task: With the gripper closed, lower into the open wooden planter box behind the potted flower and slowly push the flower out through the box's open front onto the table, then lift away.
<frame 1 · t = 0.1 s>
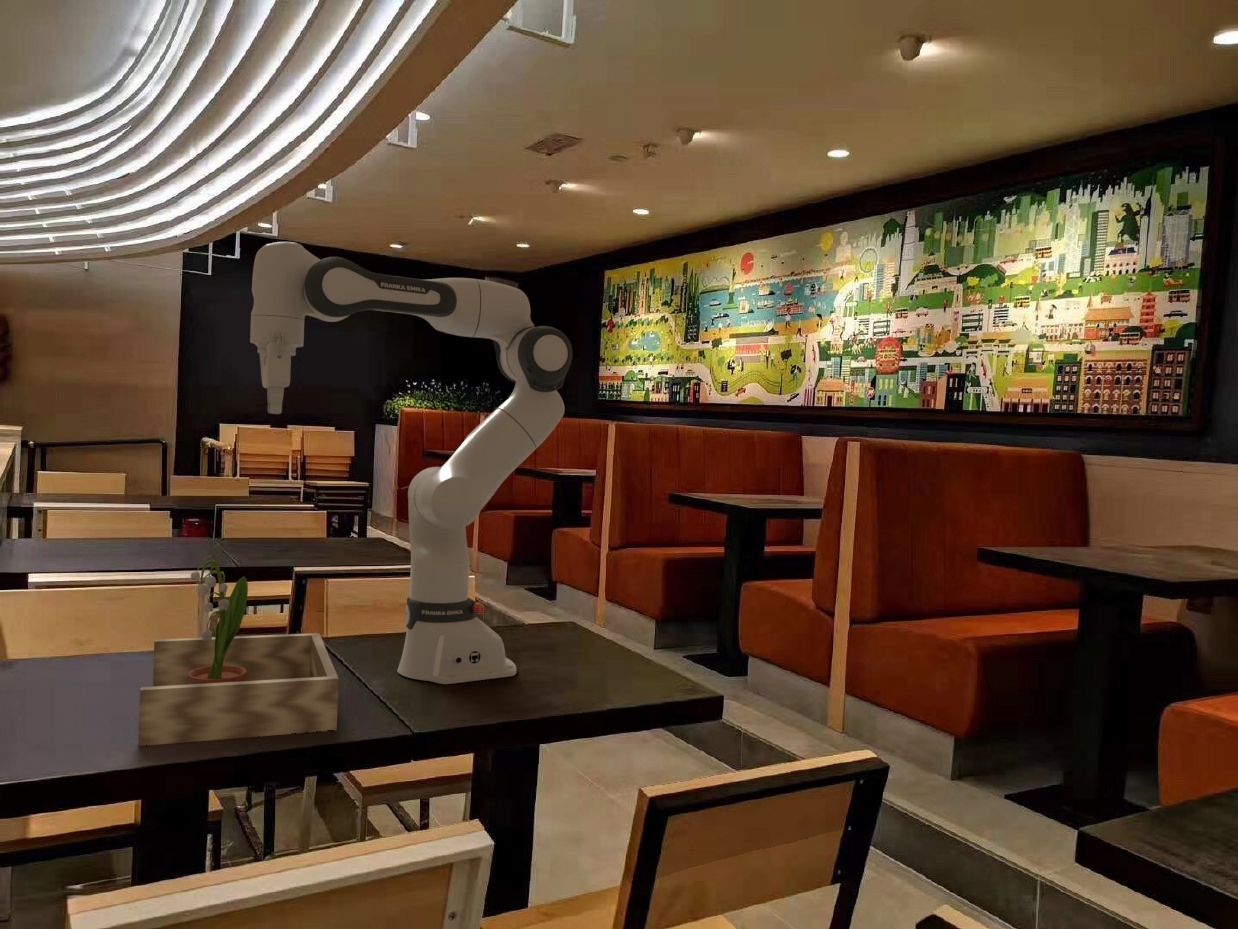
hand: (274, 413, 162), 48 cm above the table, tool pointing down, fingers open, 8 cm apart
potted flower: (212, 709, 148), on the table
open wooden planter box: (239, 706, 149), on the table
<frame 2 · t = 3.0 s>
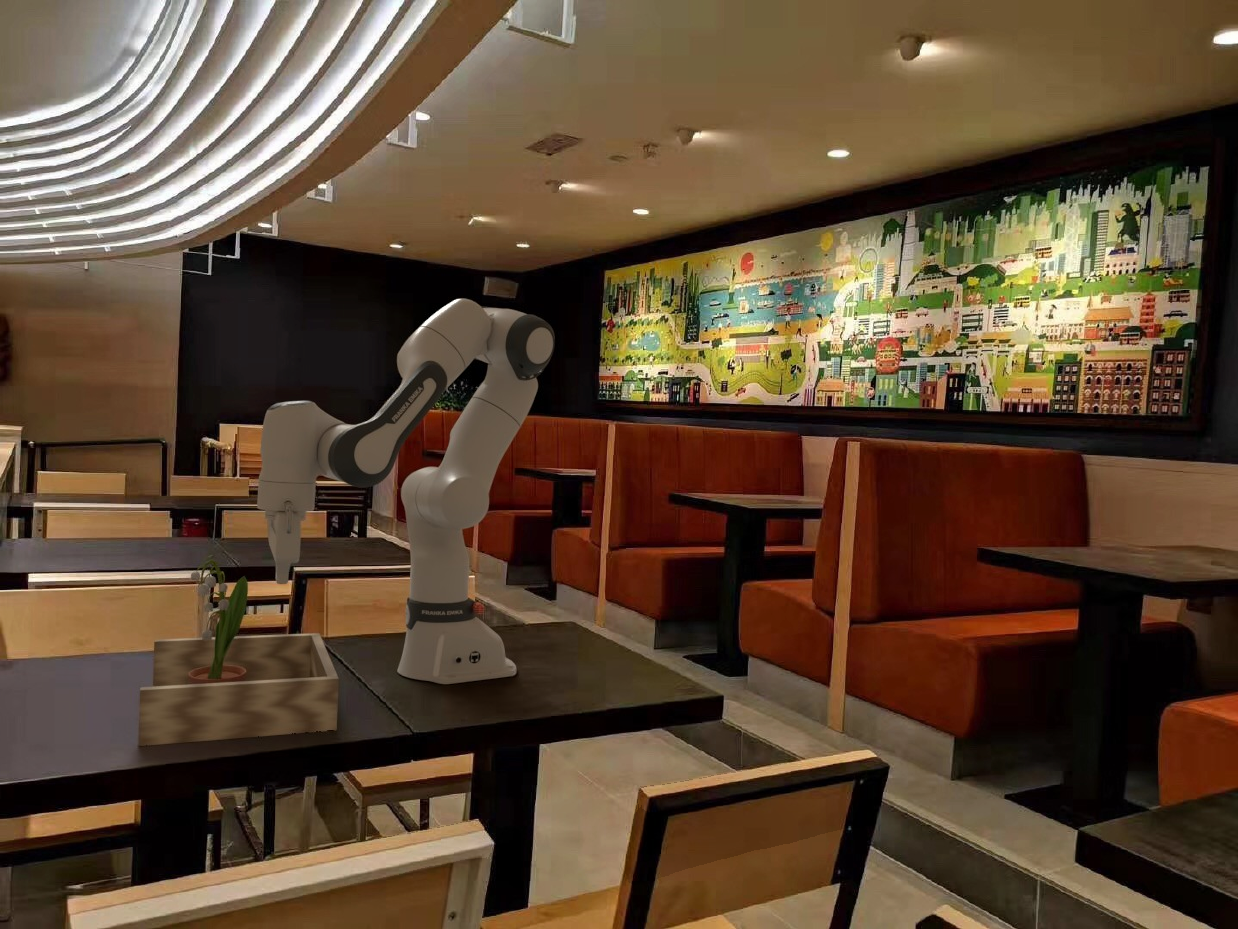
hand: (281, 582, 151), 20 cm above the table, tool pointing down, fingers closed
nothing on the table moved.
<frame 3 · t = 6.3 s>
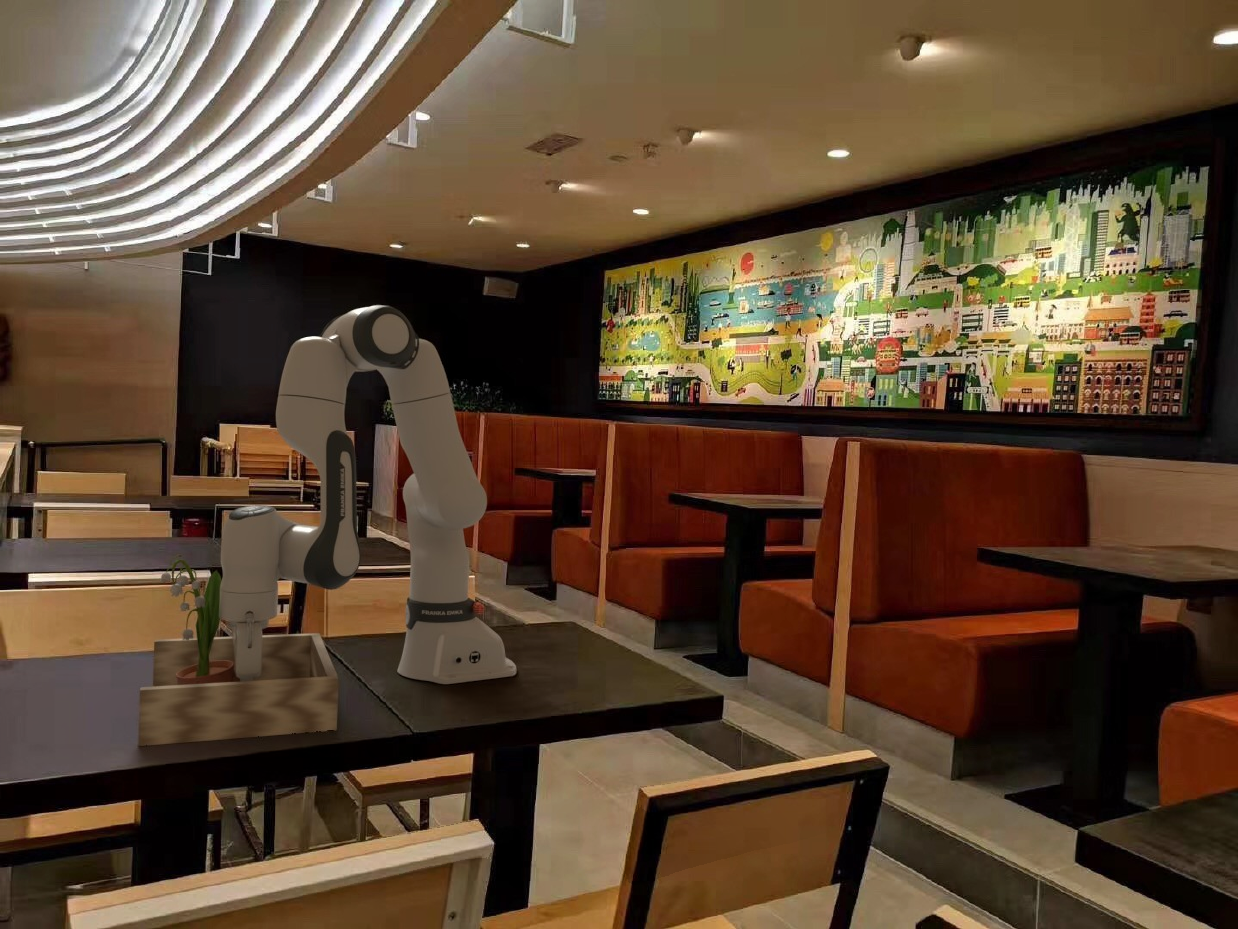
hand: (245, 690, 149), 3 cm above the table, tool pointing down, fingers closed
potted flower: (206, 706, 147), on the table, touching arm, gripper
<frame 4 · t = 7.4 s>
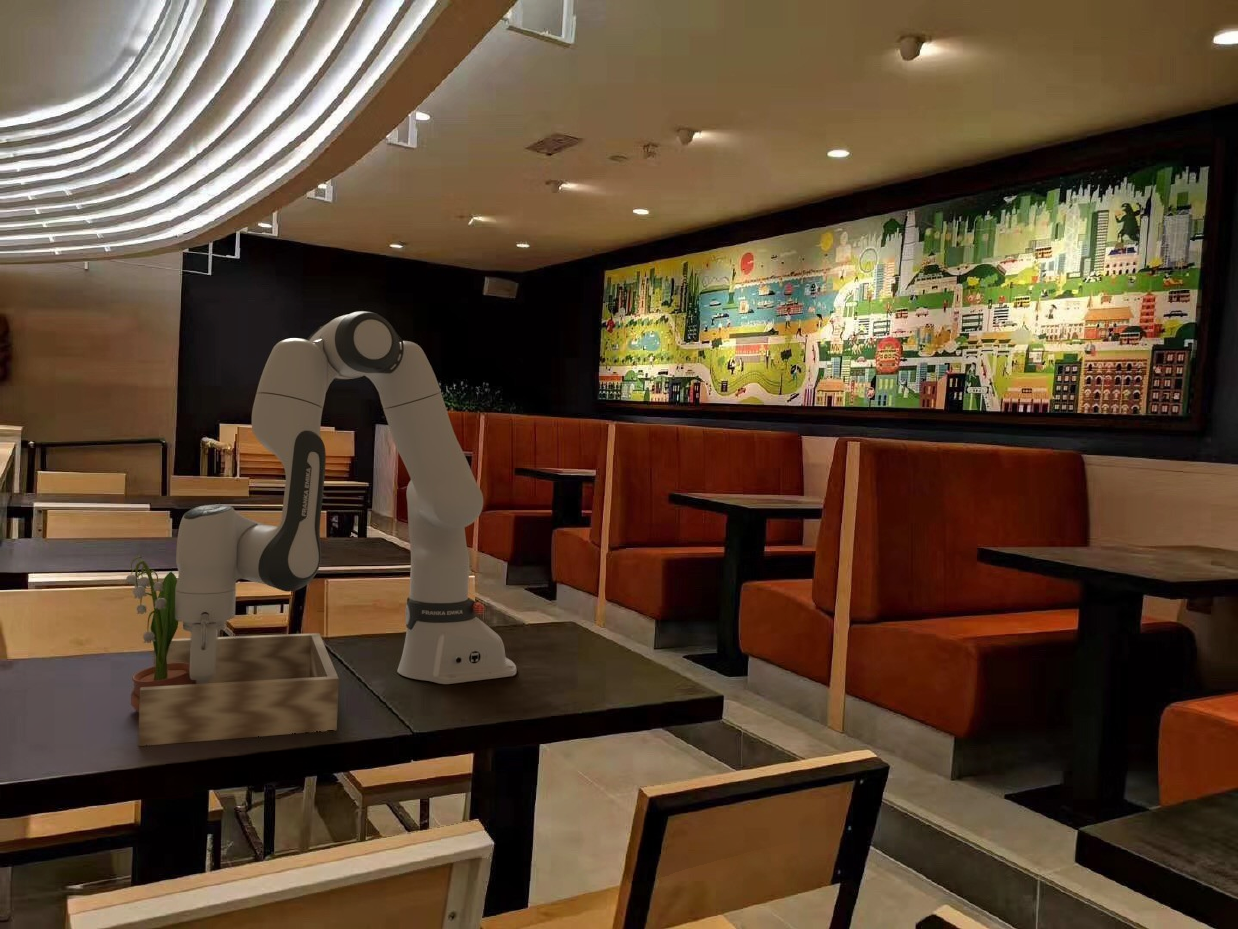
hand: (202, 692, 147), 3 cm above the table, tool pointing down, fingers closed, pressing on potted flower
potted flower: (165, 709, 145), on the table, touching arm, gripper
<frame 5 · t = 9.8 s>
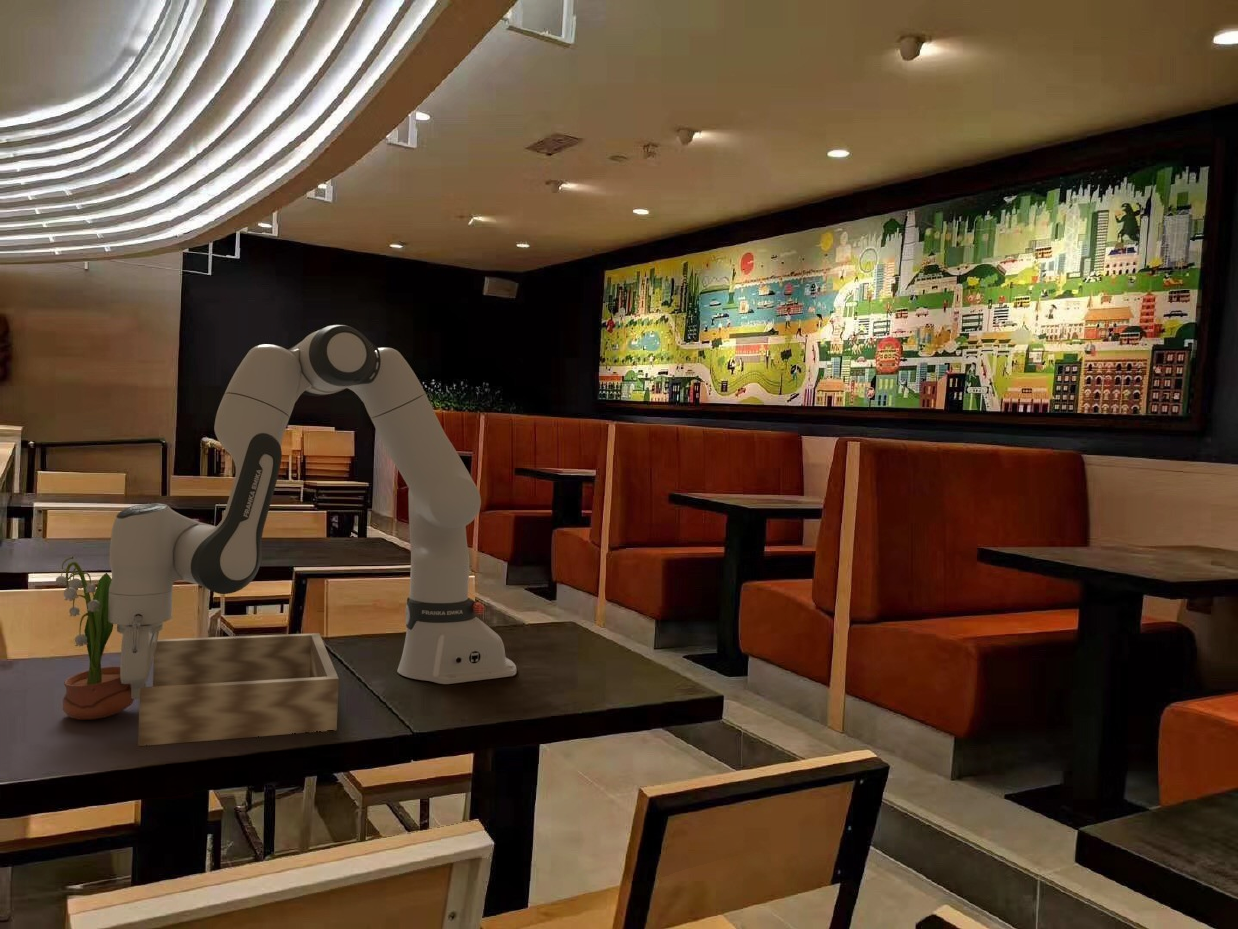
hand: (138, 696, 143), 3 cm above the table, tool pointing down, fingers closed, pressing on potted flower
potted flower: (98, 715, 141), on the table, touching arm, gripper
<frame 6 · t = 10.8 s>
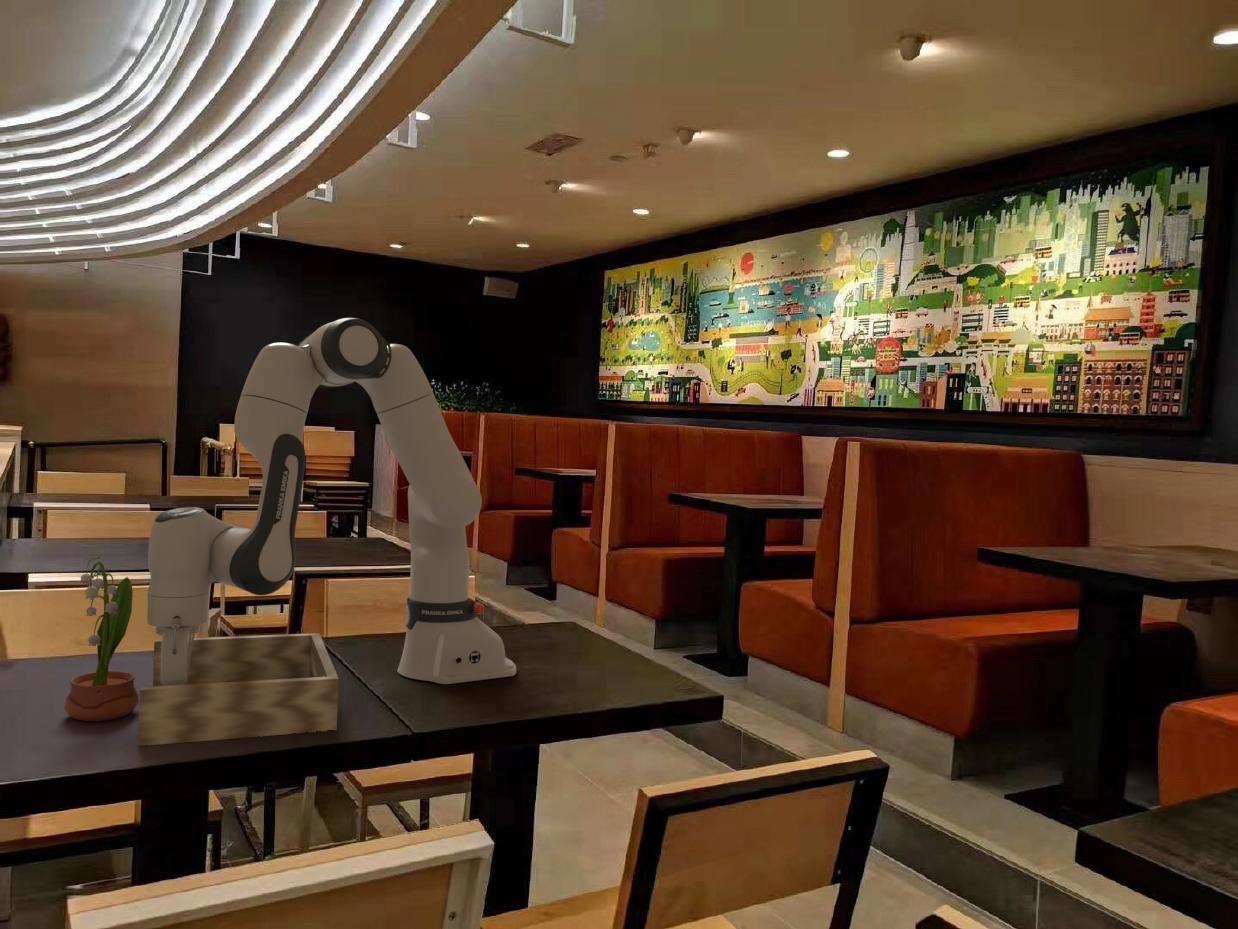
hand: (176, 697, 145), 2 cm above the table, tool pointing down, fingers closed
potted flower: (98, 718, 141), on the table
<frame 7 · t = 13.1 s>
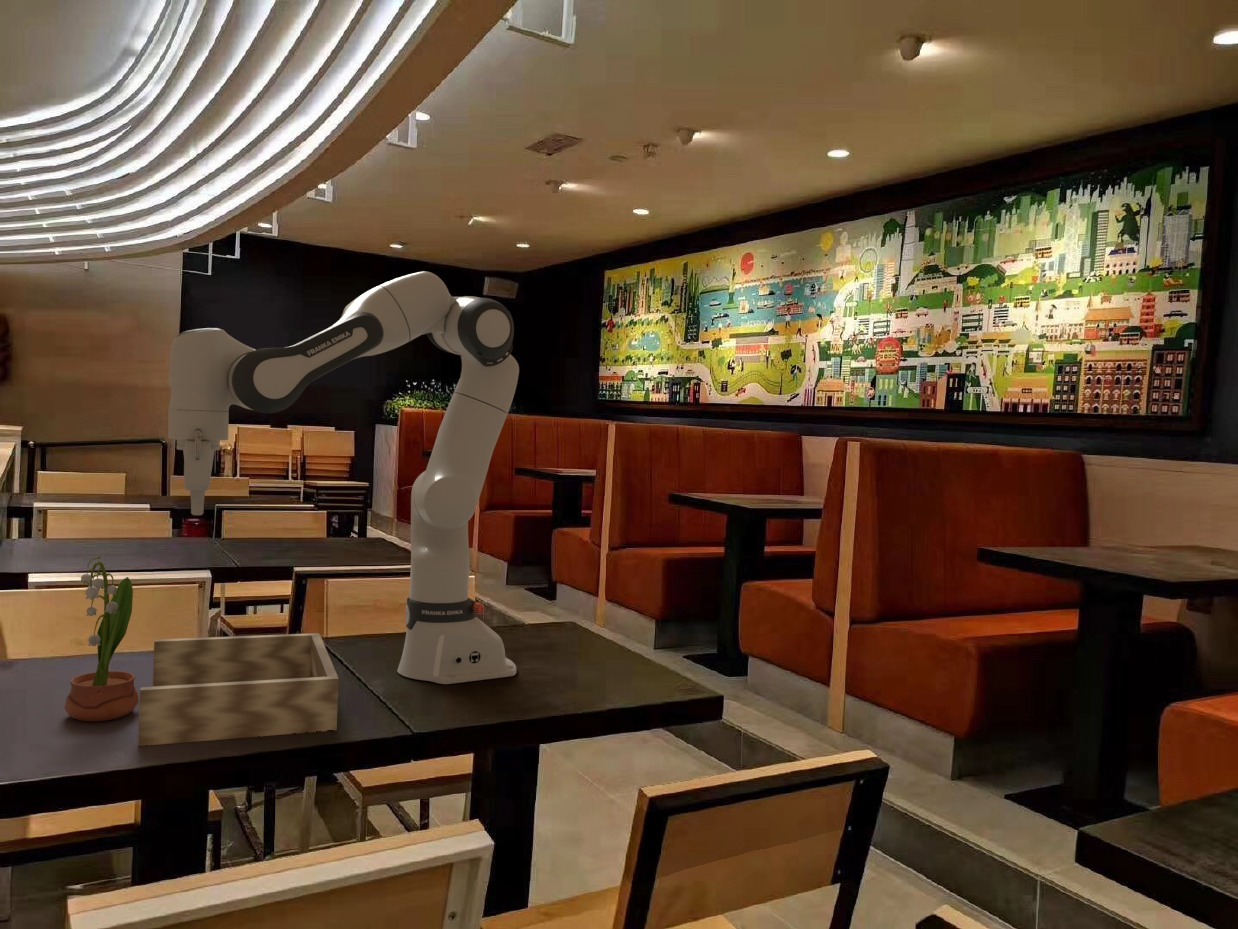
hand: (197, 514, 148), 31 cm above the table, tool pointing down, fingers closed
nothing on the table moved.
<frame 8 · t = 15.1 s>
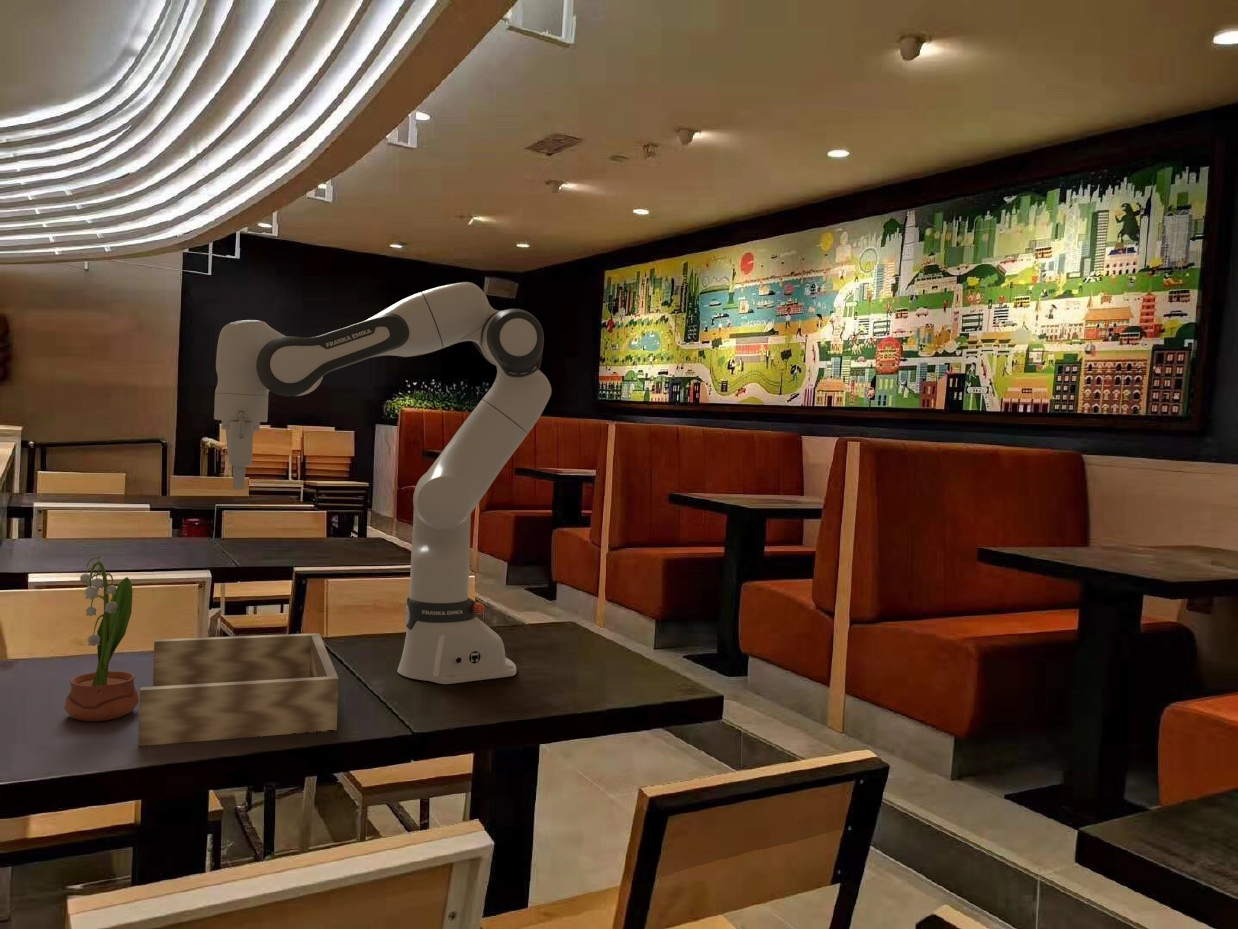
hand: (238, 488, 164), 34 cm above the table, tool pointing down, fingers closed
nothing on the table moved.
at the end: potted flower inside the target area (4.0 cm from its centre), on the table; potted flower tilted 0°; potted flower moved 16.0 cm from its start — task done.
